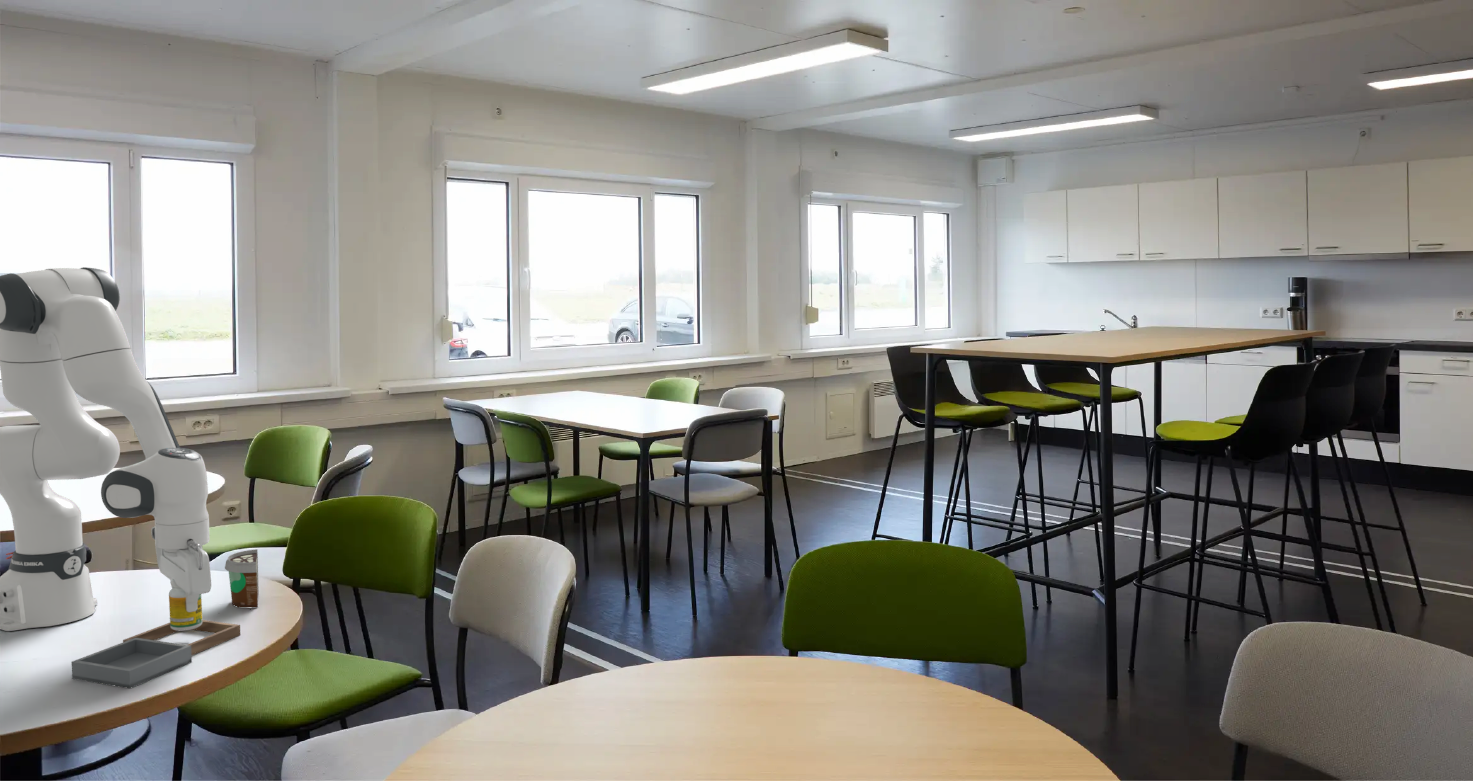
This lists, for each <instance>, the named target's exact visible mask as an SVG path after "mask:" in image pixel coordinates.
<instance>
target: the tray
mask: <svg viewBox="0 0 1473 781" xmlns="http://www.w3.org/2000/svg"><path fill="white" fill-rule="evenodd" d="M192 656H193V655H192V654H191V646H190V645H188V644H183V643H182V644H181V643H174V642H168V641H162V640H149V639H142V638H133V639H131V640H128V641H125V642H123V641H122V642H120V643H117V644H114V645H112V646H110V647H107V648H105V649H102V650H99V651H96V652H94V653H91V654H88V655H86V656H83V657H80V658H78V659H75V660H72V661H71V680H77V681H82V682H89V683H94V682H95V683H94V684H100V683H103V684H102V685H106V684H107V686H112V685H115V686H114V687H118V686H119V687H120V688H124V687H127V688H126V689H132V688H135V687H137V686H139V685H141V683H142V684H144V683H147V682H148V681H151V680H154V679H155V678H159V677H160V676H162V675H164V674H167V673H170V672H172V671H174V670H176V669H178V668H181V667H183V666H185V665H188V664H191V663H192V662H193V661H192V660H193V659H192ZM136 685H137V686H136ZM134 686H135V687H134ZM131 687H132V688H131Z"/></svg>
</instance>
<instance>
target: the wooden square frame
mask: <svg viewBox="0 0 1473 781" xmlns="http://www.w3.org/2000/svg"><path fill="white" fill-rule="evenodd" d="M190 631H197V632H204V633H212V634H209V635H207V636H204V637H203V638H201V639H198V640H195V641H193V642H190V643H187V645H190V646H191V654H192V656H195V655H197V654H199V653H201V652H203V651H205V650H209V649H211V648H213V647H215V646H218V645H220V644H222V643H224V642H228V641H230V640H232V639H235V638H236V637H239V636H241V625H240V624H238V623H237V624H235V623H227V622H221V621H220V622H219V621H215V620H214V621H213V620H208V619H207V620H206V619H202V625H201V626H199V627H197V628H195V629H191V630H190ZM177 632H178V631H176V630H173V629H171V627H170V622H168V623H165V624H162V625H159V626H157V627H154V628H150V629H149V630H146V631H143V632H140V633H138V634H135V635H132V636H129V637H127V638H124V639H123V640H122V643H123V642H125V641H128V640H131V639H133V638H142V639H149V640H156V641H158V640H159V639H161V638H164V637H166V636H169V634H170V635H172V634H175V633H177Z"/></svg>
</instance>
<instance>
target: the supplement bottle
mask: <svg viewBox="0 0 1473 781" xmlns="http://www.w3.org/2000/svg"><path fill="white" fill-rule="evenodd" d="M172 585H173V587H174V588H173V589H172V588H171V589H170V590H169V593H168V603H169V604H168V605H169V606H168V607H169V608H168V609H169V623H170V627H171V629H173V630H176V631H177V632H181V631H183V632H184V631H192V630H191V629H195V628H197V627H199V626H201V625H202V620H203V608H202V607H203V604H202V602H203V601H202V600H203V599H202V594H200V595H199V598H198V601H197V606H198V609H197V610H196V611H193V612H187V611H186V610H185V603H184V602H185V601H186V595H185V591H184V590H183V589H182V588H180V587H179V586H178V585H176V582H175V580H174V579H172Z"/></svg>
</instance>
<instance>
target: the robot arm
mask: <svg viewBox="0 0 1473 781" xmlns="http://www.w3.org/2000/svg"><path fill="white" fill-rule="evenodd" d="M120 295H121V294H120V289H119V287H118V285H117V282H116V280H115V279H114V278H113V276H111V275H110V273H108V272H107V271H105V270H103V269H99V268H96V267H80V268H72V267H71V268H70V267H67V268H65V267H64V268H61V267H60V268H56V267H55V268H46V269H41V270H34V271H28V272H27V271H26V272H21V273H11V272H10V273H6V274H5V273H4V274H1V275H0V377H1V378H0V379H1V385H2V394H3V395H4V398H5V399H6V400H7V402H8V403H10V405H12V406H13V407H16V408H18V409H21V410H24V411H25V412H27V413H29V414H30V415H32V416H33V417H34V419H35V420H36V421H37V422H38V425H37V424H32V425H31V424H30V425H29V424H28V425H26V424H25V425H22V424H21V425H20V424H19V425H2V426H0V496H2V498H3V500H4V502H5V503H6V504H7V506H8V509H9V511H10V515H11V518H12V525H13V534H14V543H15V544H14V546H15V550H14V551H12V552H8V553H5V556H7V557H6V558H5V560H10V563H9V567H8V570H7V571H5V572H4V573H2V575H1V576H0V630H2V631H5V632H10V631H12V632H13V631H19V630H25V629H33V628H44V627H52V626H58V625H64V624H67V623H68V624H69V623H71V622H76V621H78V620H82V619H84V618H87V617H89V616H91V615H93V614H94V613H95V612H96V610H97V609H96V606H97V605H98V598H97V597H94V594H93V587H92V582H91V581H92V580H91V575H90V570H89V567H88V566H86V565H85V562H87V549H86V544H85V543H83V525H82V524H83V523H82V511H81V509H80V507H79V506H78V504H77V503H76V502H75V501H73V500H72V499H71V498H67V497H65V496H62V495H60V494H59V493H56V491H55V490H53V488H52V487H51V485H50V484H49V483H48V481H56V480H57V481H60V480H62V481H63V480H64V481H65V480H67V481H68V480H83V479H90V478H96V477H100V476H104V475H106V476H105V477H104V480H103V481H102V484H101V488H100V496H101V500H102V503H103V505H104V507H105V509H106V510H107V511H108V512H110V513H111V514H112V515H114V516H116V517H117V518H123V519H131V518H132V519H133V518H138V517H142V516H147V515H149V516H153V518H154V526H152V527H151V530H150V531H151V538H152V539H153V540H154V541H155V542H154V545H155V546H154V547H155V553H156V562H157V567H158V569H159V572H160V573H161V574H162V575H163V576H164V577H166V578H167V579H168V580H170V585H171V586H170V587H171V589H173V588H174V587H173V585H172V579H174V580H175V582H176V585H178V586H179V587H180V588H182V589H183V590H184V591H185V595H186V601H185V602H184V603H185V610H186V611H187V612H193V611H196V610H197V609H198V606H197V601H198V598H199V595H200V594H201V595H202V594H203V595H204V594H208V593H210V592H211V589H212V575H211V574H212V572H211V563H210V557H209V555H208V552H207V551H206V550H204V549H203V545H207V544H209V542H210V515H209V511H208V509H207V499H208V496H209V486H208V485H209V483H208V475H207V469H206V465H205V461H204V458H203V456H202V455H201V454H200V453H199V452H197V451H195V450H193V449H189V448H183V447H181V446H180V443H179V442H178V439H177V438H176V435H175V432H174V429H173V428H172V425H171V423H170V421H169V419H168V416H167V414H166V411H165V409H164V407H163V404H162V402H161V399H160V398H159V396H158V393H157V392H156V390H155V388H154V387H153V386H152V384H151V383H150V382H149V381H147V379H146V378H145V377H144V374H143V373H142V372H141V369H140V368H139V366H138V364H137V361H136V359H135V356H134V354H133V351H132V348H131V344H130V340H129V338H128V336H127V333H126V330H125V328H124V325H123V323H122V320H121V319H120V317H119V315H118V313H117V309H118V307H119V305H120V301H121V297H120ZM76 394H77V395H78V396H79V397H80V398H82V399H84V400H86V401H87V402H90V403H93V404H96V405H100V406H103V407H107V408H110V409H112V410H115V411H117V412H118V413H120V414H122V415H123V416H124V417H125V418H126V419H127V420H128V421H129V422H130V425H131V426H132V428H133V431H134V433H135V435H136V438H137V440H138V443H139V444H140V447H141V449H142V452H143V455H144V457H145V459H144V460H142V461H140V462H136V463H134V464H130V465H126V466H123V467H120V468H118V469H116V470H114V471H112V470H113V469H114V468H115V466H116V465H117V463H118V461H119V460H120V456H121V455H120V454H121V446H120V443H119V440H118V438H117V436H116V435H115V433H114V432H113V431H111V429H109V428H107V427H106V426H104V425H102V424H100V423H99V422H98V421H96V420H95V418H93V417H92V416H91V415H90V414H89V413H88V412H87V410H86V409H84V408H83V406H82V404H81V402H80V401H79V399H78V397H77V395H76Z"/></svg>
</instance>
